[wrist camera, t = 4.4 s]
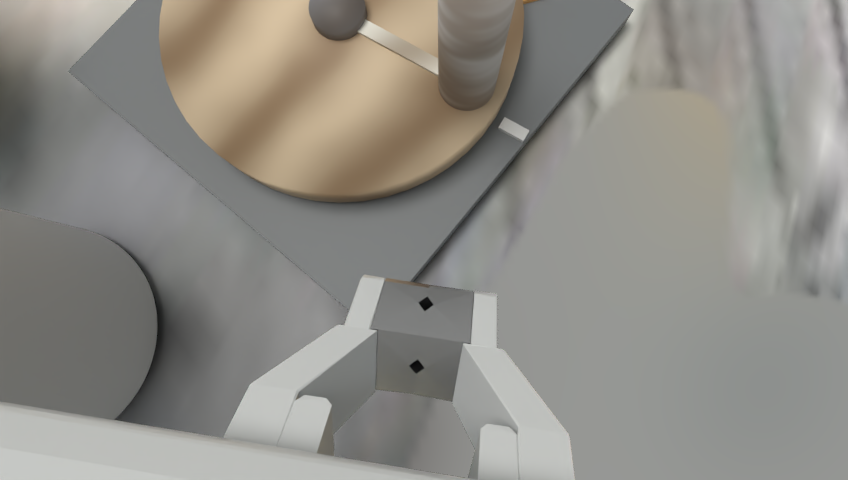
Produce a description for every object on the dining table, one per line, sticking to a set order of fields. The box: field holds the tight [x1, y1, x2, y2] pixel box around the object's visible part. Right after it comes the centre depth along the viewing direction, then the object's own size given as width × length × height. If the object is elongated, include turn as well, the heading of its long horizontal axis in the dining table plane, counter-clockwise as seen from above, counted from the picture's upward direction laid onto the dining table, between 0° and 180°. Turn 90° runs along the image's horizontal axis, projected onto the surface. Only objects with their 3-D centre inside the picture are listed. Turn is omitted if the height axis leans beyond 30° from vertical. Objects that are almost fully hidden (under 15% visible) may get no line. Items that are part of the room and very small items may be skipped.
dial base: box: [68, 0, 634, 310], centre depth 30 cm, size 24×24×2 cm
